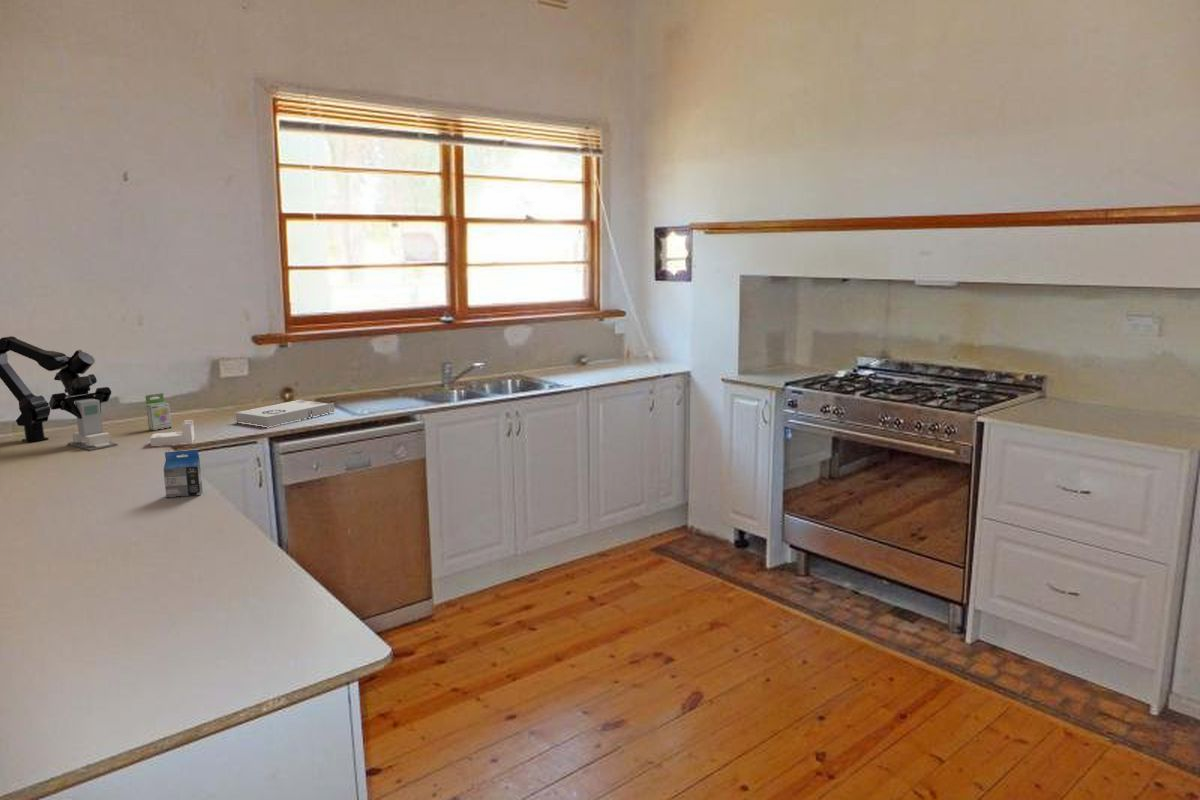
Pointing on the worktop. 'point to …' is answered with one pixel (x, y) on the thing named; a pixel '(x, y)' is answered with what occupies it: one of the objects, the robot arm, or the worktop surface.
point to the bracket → (175, 436)
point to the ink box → (158, 412)
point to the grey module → (89, 417)
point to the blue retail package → (182, 474)
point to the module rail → (92, 441)
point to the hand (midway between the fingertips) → (90, 416)
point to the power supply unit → (277, 415)
